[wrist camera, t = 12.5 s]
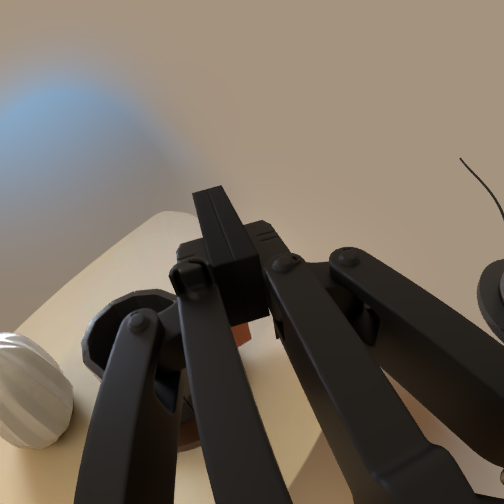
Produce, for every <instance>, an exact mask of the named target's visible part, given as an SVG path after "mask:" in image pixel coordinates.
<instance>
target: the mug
mask: <svg viewBox="0 0 504 504" xmlns="http://www.w3.org/2000/svg"><path fill="white" fill-rule="evenodd" d="M176 300H177V295H174V294H171V293H169V292H166V291H163V290H161V289H151V290H140V291H135V292H131V293H129V294H127V295H125V296H122V297H120V298H118V299H116V300H114V301H112V302H111V303H109V304H108V305H107V306H106V307H105V308H104V309H102V310H101V311H100V312H99V313H98V314H97V315H96V316H95V317H94V318H93V319H92V320H91V321H90V323H89V326H88V328H87V330H86V332H85V334H84V336H83V338H82V342H81V346H82V355H83V362H84V364H85V365H86V367H87V368H88V369H89V370H90V371H91V372H92V373H93V375H94V376H95V377H96V378H97V379H98V380H99V381H100V382H102V379H103V375H104V372H105V369H106V366H107V363H108V359H109V356H110V353H111V350H112V347H113V344H114V342H115V339H116V336H117V333H118V330H119V327H120V325H121V323H122V321H123V319H124V318H125V317H126V316H127V315H128V314H130V313H131V312H133V311H135V310H138V309H142V308H150V309H152V310H154V311H156V313H159V312H161V311H163V310H165V309H166V308H168V307H169V306H171V305H172V304H173V303H174V302H175V301H176ZM231 329H232V332H233V335H234V338H235V341H236V345H237V347H239V346H241V345H242V344H244V343H246V342H247V341H249V340H250V339H251V334H250V331H249V327H248V323H244V324H241V325H237V326H234V327H231ZM193 418H195V413H194V407H193V402H192V396H191V391H190V385H189V379H188V373H187V367H186V377H185V385H184V394H183V402H182V411H181V421H180V424H182V423H184V422H186V421H188V420H191V419H193Z"/></svg>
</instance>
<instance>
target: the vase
mask: <svg viewBox="0 0 504 504" xmlns="http://www.w3.org/2000/svg"><path fill="white" fill-rule="evenodd" d="M72 411H73V386H72V385H71V383H70V382H69V380H68V379H67V378H66V377H65V376H64V375H63V371H62V370H61V368H60V366H59V365H58V363H57V362H56V361H55V360H54V359H53V358H52V357H51V356H50V355H49V354H48V353H47V352H46V351H45V350H44V349H42V348H41V347H40V346H39V345H37V344H36V343H35V342H34V341H32V340H31V339H29V338H27V337H25V336H23V335H21V334H12V333H10V332H2V333H0V436H1V437H2V438H3V439H4V440H6V441H7V442H9V443H10V444H12V445H14V446H16V447H18V448H27V447H31V448H33V449H36V450H40V449H42V448H45V447H47V446H49V445H51V444H53V443H54V442H56V441H57V440H58V438H59V436H60V435H61V434H62V433H64V432H65V431H66V429H67V428H68V426H69V423H70V419H71V414H72Z"/></svg>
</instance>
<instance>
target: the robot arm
mask: <svg viewBox="0 0 504 504" xmlns="http://www.w3.org/2000/svg"><path fill="white" fill-rule="evenodd" d="M460 160H461V161H462V163H463V164H464V165H465V166H466V167H467V168H468V170H469V171H470V172H471V173H472V174H473V175H474V176H475V177H476V178H477V179H478V180H479V181H480V182H481V183H482V184H483V186H484V187H485V188H486V189H487V190H488V192H489V193H490V194H491V196H492V197H493V199H494V200H495V202H496V204H497V206H498V207H499V210H500V212H501V214H502V217H503V219H504V213H503V210H502V208H501V206H500V205H499V203H498V201H497V199H496V198H495V196H494V195H493V193H492V192H491V191H490V190H489V188H488V187H487V186H486V185H485V184H484V183H483V182H482V180H481V179H480V178H479V177H478V176H477V175H476V174H475V173H474V172H473V171H472V170H471V169H470V168H469V167H468V166H467V165H466V164H465V163H464V161H463V160H462V159H461V158H460ZM192 195H193V199H194V203H195V207H196V211H197V215H198V219H199V223H200V227H201V231H202V235H203V238H199V239H196V240H192V241H189V242H186V243H182V244H180V246H179V248H178V250H177V251H176V254H177V264H176V265H174V266H173V268H172V269H171V270H170V273H169V278H170V281H171V283H172V286H173V288H174V290H175V293H176V295H177V300H176V301H175V302H174V303H173V304H172V305H171V306H169V307H168V308H166V309H165V310H163V311H161V312H159V313H156V311H154V310H152V309H150V308H142V309H138V310H135V311H133V312H131V313H130V314H128V315H127V316H126V317H125V318H124V319H123V321H122V323H121V325H120V327H119V330H118V333H117V336H116V339H115V342H114V344H113V347H112V350H111V353H110V356H109V359H108V363H107V366H106V369H105V372H104V375H103V379H102V382H101V385H100V389H99V392H98V395H97V399H96V403H95V406H94V410H93V414H92V417H91V421H90V425H89V429H88V433H87V437H86V442H85V446H84V450H83V455H82V460H81V464H80V469H79V475H78V480H77V485H76V491H75V497H74V504H174V490H175V476H176V463H177V452H178V441H179V430H180V421H181V411H182V402H183V394H184V385H185V377H186V367H187V373H188V379H189V385H190V391H191V396H192V402H193V407H194V413H195V418H196V423H197V428H198V433H199V437H200V442H201V447H202V451H203V455H204V460H205V464H206V468H207V472H208V476H209V480H210V484H211V488H212V492H213V496H214V500H215V503H216V504H293V502H292V500H291V497H290V495H289V492H288V490H287V487H286V485H285V482H284V479H283V477H282V474H281V472H280V469H279V466H278V464H277V461H276V458H275V456H274V453H273V450H272V447H271V445H270V442H269V439H268V436H267V434H266V431H265V428H264V425H263V422H262V419H261V417H260V414H259V411H258V408H257V405H256V402H255V399H254V396H253V393H252V390H251V387H250V384H249V381H248V378H247V375H246V372H245V369H244V366H243V363H242V360H241V357H240V354H239V351H238V348H237V345H236V341H235V338H234V335H233V332H232V329H231V327H234V326H237V325H241V324H244V323H247V322H250V321H254V320H257V319H260V318H263V317H266V316H269V315H270V314H269V309H270V312H271V314H272V316H273V322H274V328H275V334H276V339H279V338H280V340H281V342H282V344H283V346H284V349H285V351H286V353H287V355H288V357H289V359H290V362H291V364H292V366H293V368H294V370H295V373H296V375H297V377H298V379H299V381H300V383H301V386H302V388H303V390H304V392H305V394H306V396H307V399H308V401H309V403H310V405H311V407H312V409H313V411H314V414H315V416H316V418H317V420H318V422H319V424H320V426H321V429H322V431H323V433H324V435H325V437H326V439H327V441H328V443H329V446H330V448H331V450H332V452H333V454H334V456H335V458H336V460H337V463H338V465H339V467H340V468H341V471H342V473H343V475H344V477H345V479H346V482H347V484H348V486H349V488H350V490H351V493H352V495H353V501H354V504H504V499H502V498H496V497H491V496H486V495H481V494H476V493H474V491H473V489H472V488H471V486H470V484H469V483H468V481H467V479H466V477H465V476H464V474H463V472H462V471H461V469H460V467H459V466H458V464H457V462H456V461H455V459H454V458H453V457H452V455H451V454H450V453H449V451H447V450H446V449H445V448H443V447H442V446H439V445H435V444H432V443H430V442H429V441H428V440H427V439H426V437H425V436H424V435H423V433H422V431H421V430H420V428H419V426H418V425H417V423H416V422H415V420H414V419H413V417H412V416H411V414H410V412H409V411H408V409H407V408H406V406H405V405H404V403H403V401H402V400H401V398H400V397H399V395H398V394H397V392H396V391H395V389H394V388H393V386H392V385H391V383H390V382H389V380H388V379H387V377H386V376H385V374H384V373H383V371H382V370H381V368H382V369H383V370H385V371H386V372H387V373H388V374H389V375H390V376H391V377H392V378H393V379H395V380H396V381H397V382H398V383H399V384H400V385H401V386H402V387H403V388H405V389H406V390H407V391H408V392H409V393H410V394H411V395H412V396H413V397H415V398H416V399H417V400H418V401H419V402H420V403H421V404H422V405H423V406H425V407H426V408H427V409H428V410H429V411H430V412H431V413H432V414H433V415H434V416H436V417H437V418H438V419H439V420H440V421H441V422H442V423H443V424H445V425H446V426H447V427H448V428H449V429H450V430H451V431H452V432H453V433H455V434H456V435H457V436H458V437H459V438H460V439H461V440H462V441H463V442H464V443H466V444H467V445H468V446H469V447H470V448H471V449H472V450H473V451H475V452H476V453H477V454H478V455H480V456H481V457H483V458H484V459H486V460H487V461H489V462H491V463H493V464H495V465H497V466H500V467H503V468H504V346H503V345H502V344H500V343H499V342H498V341H496V340H495V339H494V338H492V337H491V336H489V335H488V334H487V333H486V332H484V331H483V330H482V329H480V328H479V327H477V326H476V325H475V324H473V323H472V322H471V321H469V320H468V319H466V318H465V317H464V316H462V315H461V314H459V313H458V312H457V311H455V310H453V309H452V308H451V307H449V306H448V305H447V304H445V303H444V302H442V301H440V300H439V299H438V298H436V297H435V296H433V295H432V294H430V293H429V292H427V291H426V290H424V289H423V288H421V287H420V286H418V285H417V284H415V283H414V282H412V281H411V280H409V279H408V278H406V277H405V276H403V275H401V274H400V273H398V272H397V271H395V270H394V269H392V268H391V267H389V266H387V265H386V264H384V263H383V262H381V261H379V260H378V259H376V258H375V257H373V256H371V255H370V254H368V253H366V252H365V251H363V250H361V249H358V248H354V247H343V248H340V249H337V250H335V251H334V252H332V253H331V255H330V257H329V262H319V263H308V262H305V260H304V259H303V258H302V257H301V256H299V255H297V254H294V253H291V252H290V251H289V249H288V248H287V246H286V245H285V244H284V242H283V241H282V239H281V238H280V237H279V235H278V234H277V233H276V232H275V230H274V228H273V227H272V226H271V224H269V223H267V222H265V221H263V220H260V221H257V222H253V223H249V224H246V225H243V224H242V222H241V220H240V219H239V217H238V215H237V213H236V211H235V209H234V207H233V206H232V204H231V202H230V200H229V198H228V196H227V195H226V193H225V191H224V189H223V187H222V186H221V185H220V186H217V187H213V188H209V189H206V190H202V191H199V192H195V193H192ZM498 292H499V297H500V300H501V302H502V304H503V306H504V273H503V274H502V277H501V279H500V282H499V285H498ZM268 307H269V308H268ZM379 366H380V367H381V368H380V367H379ZM500 480H501V482H502V484H503V485H504V469H503V471H502V472H501V476H500Z"/></svg>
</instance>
